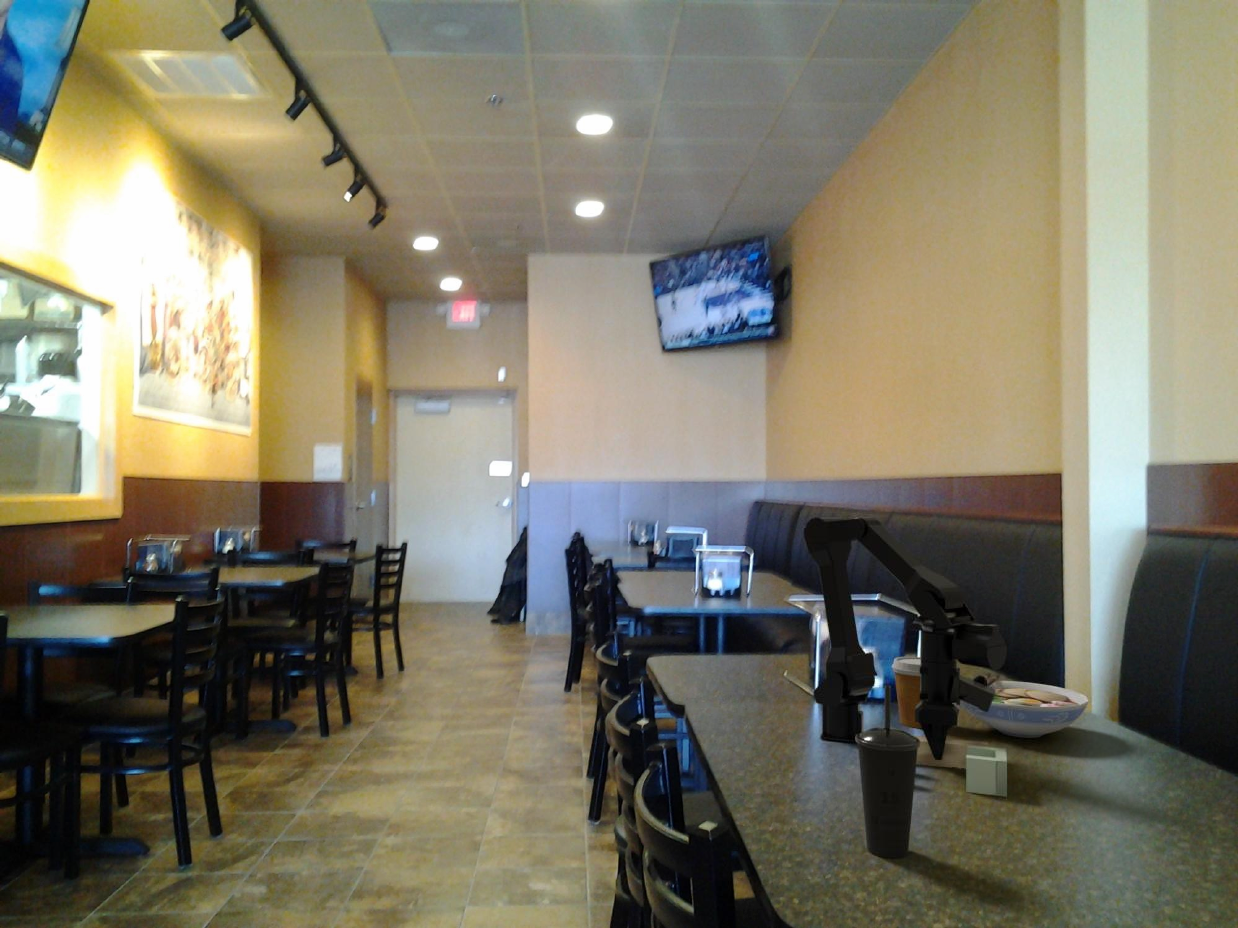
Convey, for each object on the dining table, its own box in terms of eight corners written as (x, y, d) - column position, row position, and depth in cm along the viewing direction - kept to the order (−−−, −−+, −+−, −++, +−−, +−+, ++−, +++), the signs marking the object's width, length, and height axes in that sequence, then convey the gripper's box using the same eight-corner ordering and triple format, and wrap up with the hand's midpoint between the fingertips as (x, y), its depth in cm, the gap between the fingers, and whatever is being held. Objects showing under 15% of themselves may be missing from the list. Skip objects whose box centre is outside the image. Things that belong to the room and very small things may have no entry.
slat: (890, 762, 153) (890, 738, 153) (891, 758, 156) (891, 733, 156) (989, 772, 148) (989, 747, 149) (987, 767, 151) (987, 742, 151)
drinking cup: (846, 839, 118) (847, 680, 119) (905, 838, 119) (905, 679, 119) (867, 863, 110) (868, 693, 111) (930, 862, 111) (930, 692, 112)
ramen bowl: (1081, 758, 156) (1081, 709, 156) (940, 738, 168) (940, 692, 168) (1096, 727, 177) (1096, 684, 177) (969, 711, 189) (969, 670, 189)
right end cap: (1005, 781, 143) (1005, 748, 143) (1006, 796, 136) (1006, 761, 136) (967, 777, 145) (967, 744, 145) (966, 791, 138) (966, 757, 138)
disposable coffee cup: (947, 731, 173) (947, 666, 173) (893, 728, 174) (893, 663, 175) (940, 719, 182) (940, 657, 182) (889, 716, 184) (889, 655, 184)
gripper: (992, 674, 141) (992, 778, 141) (991, 654, 158) (992, 747, 158) (914, 668, 145) (914, 770, 145) (922, 650, 162) (922, 740, 162)
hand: (938, 756), depth 152 cm, fingers closed on slat, 3 cm apart
